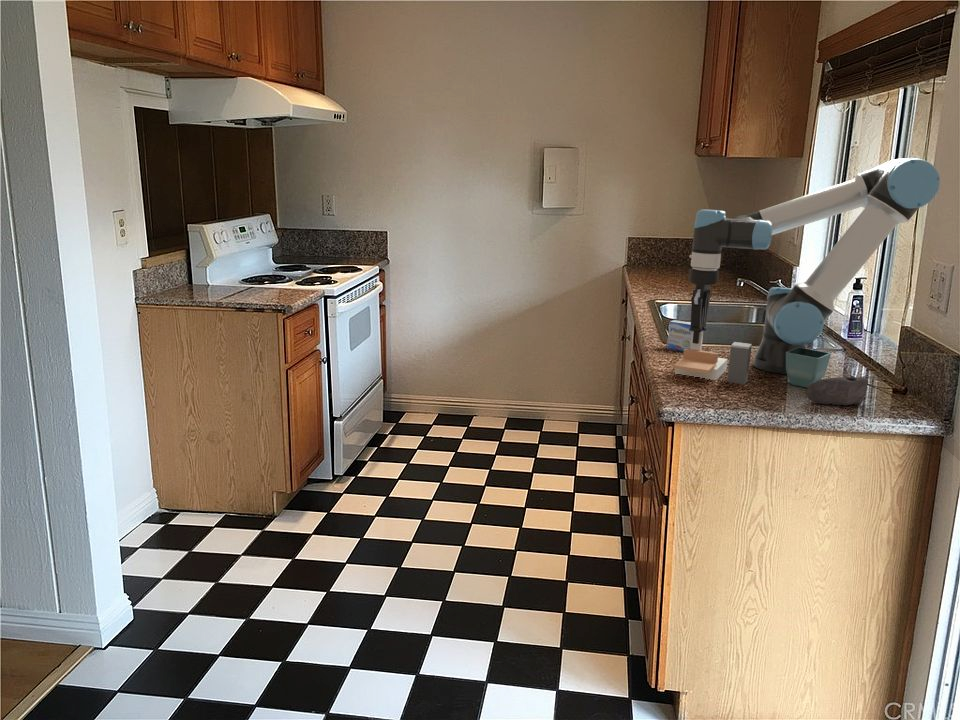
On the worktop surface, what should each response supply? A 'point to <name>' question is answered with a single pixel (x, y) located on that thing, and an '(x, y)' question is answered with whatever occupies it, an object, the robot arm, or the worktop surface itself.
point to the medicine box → (679, 335)
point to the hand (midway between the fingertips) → (695, 354)
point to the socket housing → (712, 375)
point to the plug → (739, 362)
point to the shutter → (697, 361)
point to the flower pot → (806, 366)
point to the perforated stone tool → (838, 391)
